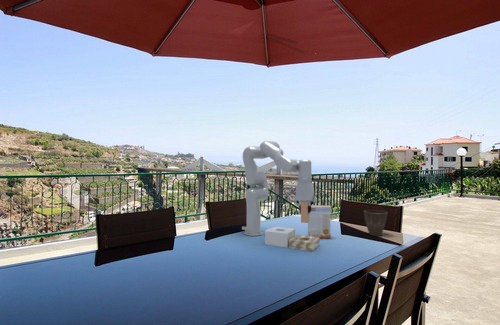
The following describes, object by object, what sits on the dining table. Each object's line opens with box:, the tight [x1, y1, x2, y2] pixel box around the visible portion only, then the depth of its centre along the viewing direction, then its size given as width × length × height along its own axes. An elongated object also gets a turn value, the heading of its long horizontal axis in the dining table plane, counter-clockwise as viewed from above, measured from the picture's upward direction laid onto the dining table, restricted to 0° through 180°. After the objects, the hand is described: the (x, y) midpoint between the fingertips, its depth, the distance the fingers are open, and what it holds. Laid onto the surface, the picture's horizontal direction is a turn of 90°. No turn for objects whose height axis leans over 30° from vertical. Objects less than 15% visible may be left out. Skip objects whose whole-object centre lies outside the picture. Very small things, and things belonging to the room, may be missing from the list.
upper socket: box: [264, 226, 296, 249], centre depth 176 cm, size 14×14×8 cm
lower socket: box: [288, 234, 321, 252], centre depth 169 cm, size 14×14×4 cm
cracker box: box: [307, 204, 331, 240], centre depth 190 cm, size 14×6×21 cm, turn 84°
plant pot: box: [363, 209, 388, 237], centre depth 199 cm, size 15×15×16 cm
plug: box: [300, 201, 310, 224], centre depth 169 cm, size 4×4×12 cm
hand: (305, 212), depth 169 cm, fingers closed on plug, 4 cm apart
